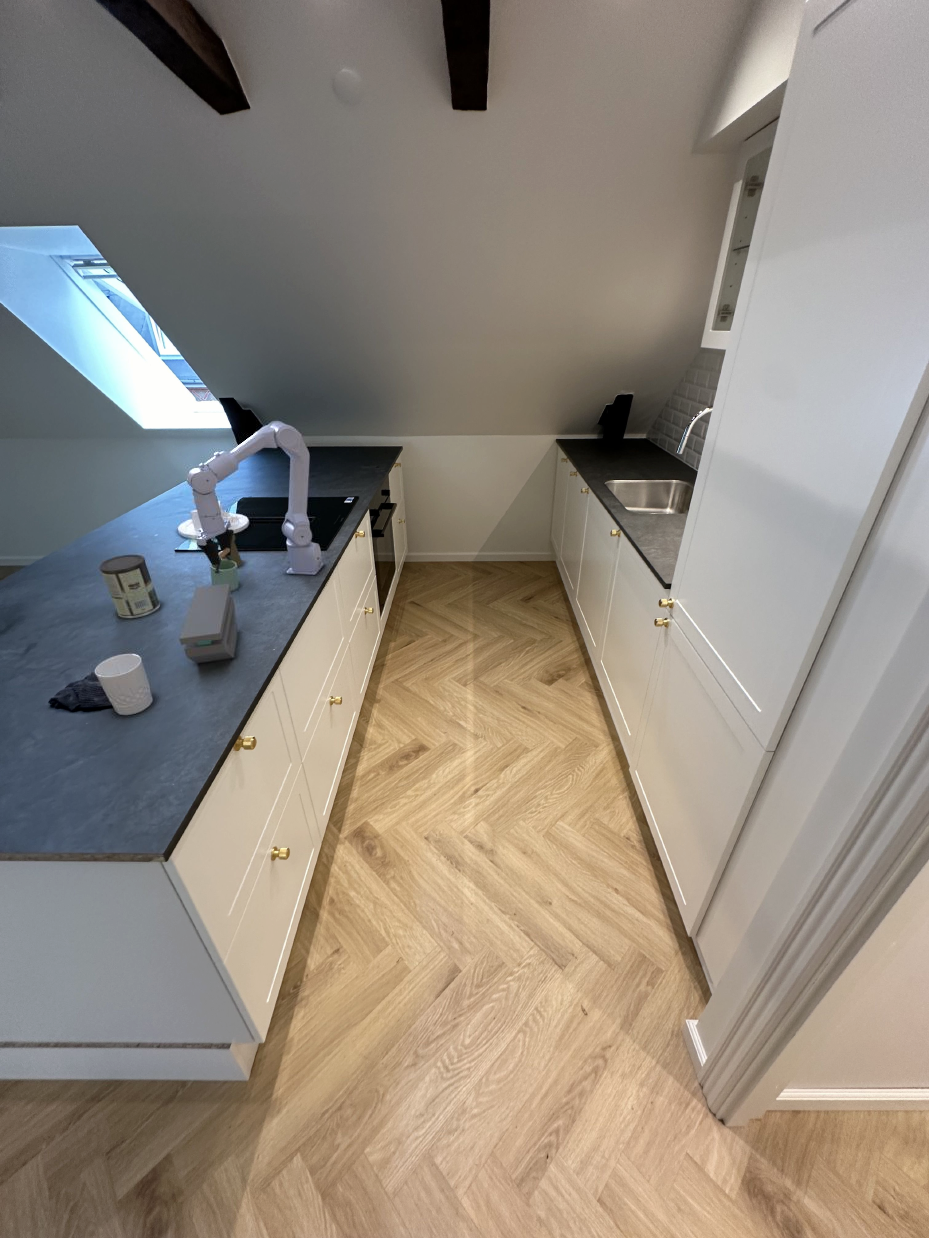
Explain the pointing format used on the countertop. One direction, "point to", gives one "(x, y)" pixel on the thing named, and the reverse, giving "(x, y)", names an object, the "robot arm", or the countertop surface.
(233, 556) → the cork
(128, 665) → the white cup
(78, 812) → the countertop surface
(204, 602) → the grey box
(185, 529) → the dish
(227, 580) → the bucket
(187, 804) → the countertop surface
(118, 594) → the coffee can
